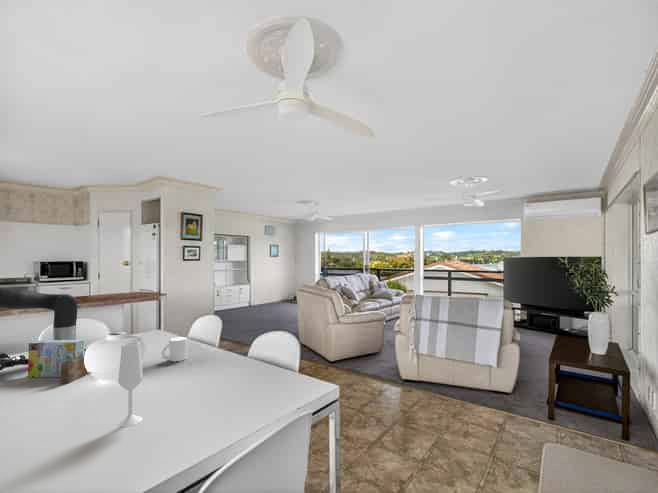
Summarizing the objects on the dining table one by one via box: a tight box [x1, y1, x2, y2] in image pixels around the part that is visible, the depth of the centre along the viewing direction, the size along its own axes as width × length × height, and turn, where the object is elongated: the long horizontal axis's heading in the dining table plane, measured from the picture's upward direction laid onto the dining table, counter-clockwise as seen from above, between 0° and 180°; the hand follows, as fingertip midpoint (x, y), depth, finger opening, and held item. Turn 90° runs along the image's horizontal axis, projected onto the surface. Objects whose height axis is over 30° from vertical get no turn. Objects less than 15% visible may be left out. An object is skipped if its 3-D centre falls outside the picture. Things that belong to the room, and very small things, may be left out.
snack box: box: [27, 339, 85, 378], centre depth 151 cm, size 21×6×15 cm, turn 88°
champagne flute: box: [117, 341, 144, 428], centre depth 107 cm, size 7×7×24 cm
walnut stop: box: [60, 347, 90, 385], centre depth 148 cm, size 15×3×11 cm, turn 179°
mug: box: [161, 336, 188, 363], centre depth 171 cm, size 8×10×12 cm
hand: (29, 361), depth 149 cm, fingers closed
